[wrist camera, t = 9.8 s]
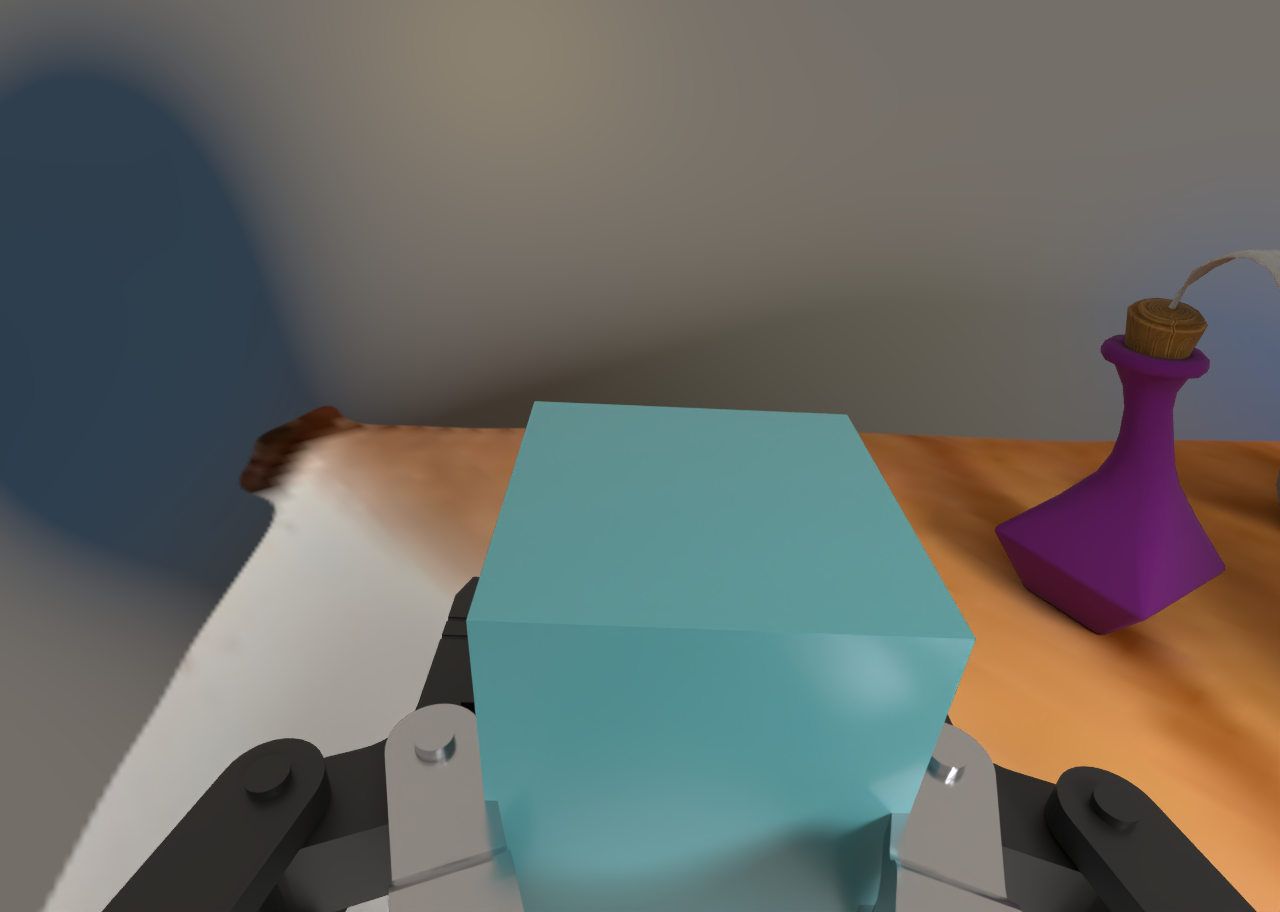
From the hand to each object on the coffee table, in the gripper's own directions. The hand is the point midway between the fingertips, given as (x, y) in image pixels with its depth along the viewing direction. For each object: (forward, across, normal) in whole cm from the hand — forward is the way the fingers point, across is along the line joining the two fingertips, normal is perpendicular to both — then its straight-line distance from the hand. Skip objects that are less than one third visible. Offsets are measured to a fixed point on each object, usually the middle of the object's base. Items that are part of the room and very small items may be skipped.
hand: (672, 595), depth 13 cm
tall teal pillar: (-3, 0, +6) cm, 7 cm away
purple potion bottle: (+18, -23, +15) cm, 33 cm away
